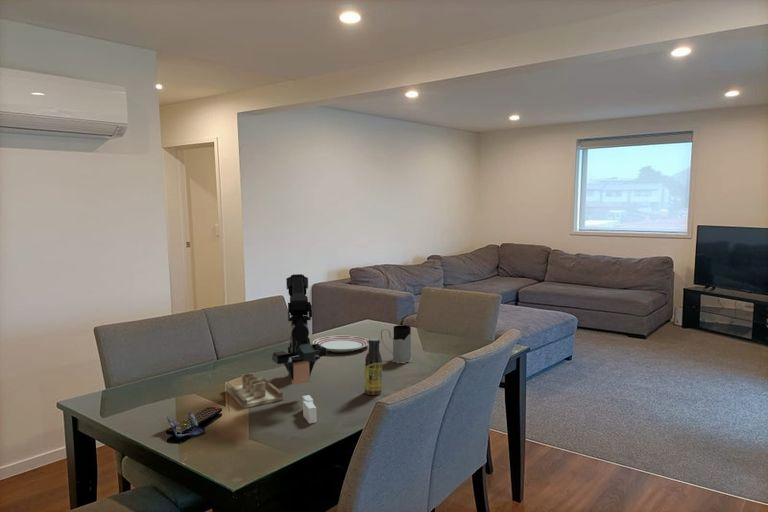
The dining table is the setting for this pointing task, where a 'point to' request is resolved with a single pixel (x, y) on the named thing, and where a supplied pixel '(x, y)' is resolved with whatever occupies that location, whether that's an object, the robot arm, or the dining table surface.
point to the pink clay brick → (301, 372)
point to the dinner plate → (342, 343)
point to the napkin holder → (309, 409)
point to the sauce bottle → (373, 368)
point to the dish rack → (254, 391)
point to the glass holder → (401, 343)
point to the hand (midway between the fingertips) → (300, 377)
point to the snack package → (196, 430)
